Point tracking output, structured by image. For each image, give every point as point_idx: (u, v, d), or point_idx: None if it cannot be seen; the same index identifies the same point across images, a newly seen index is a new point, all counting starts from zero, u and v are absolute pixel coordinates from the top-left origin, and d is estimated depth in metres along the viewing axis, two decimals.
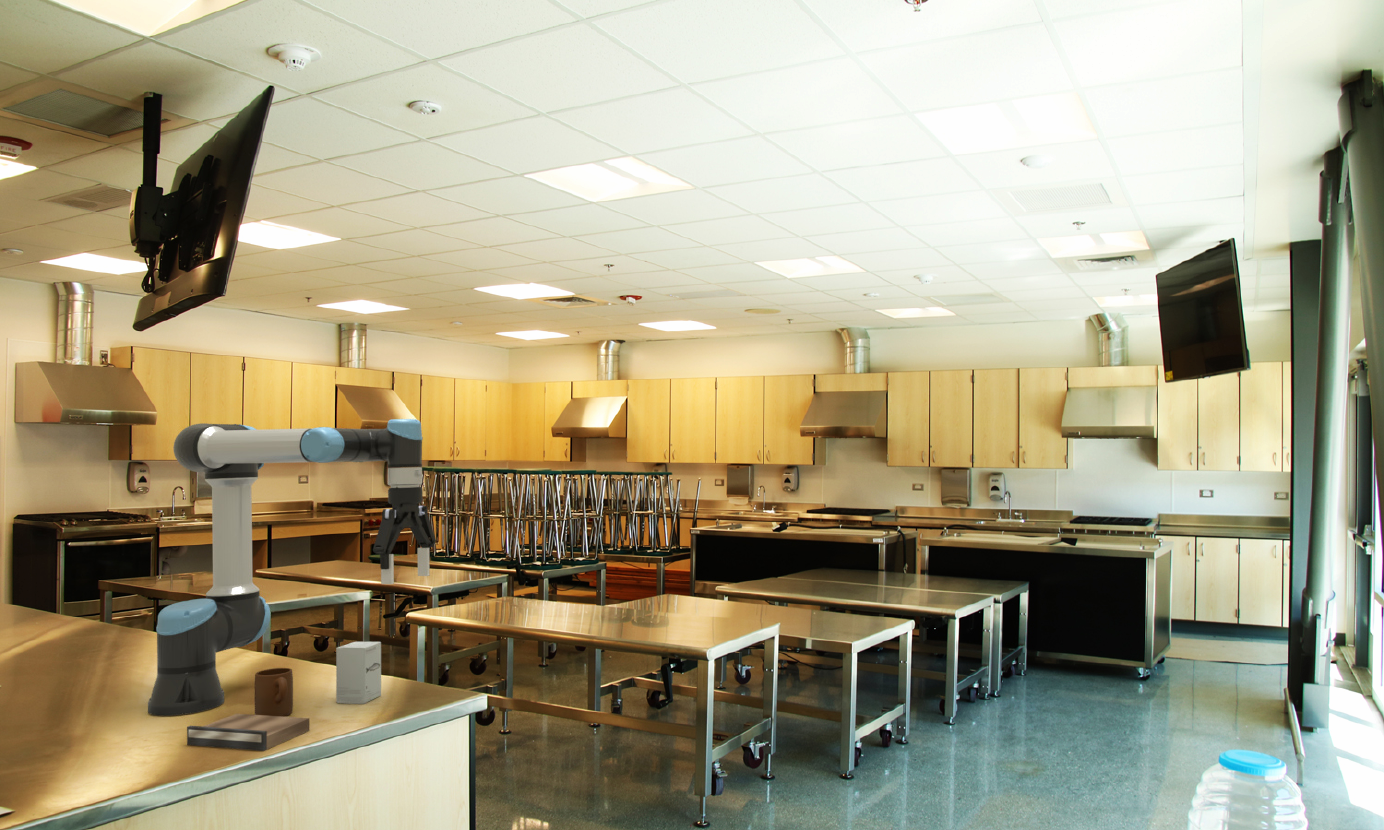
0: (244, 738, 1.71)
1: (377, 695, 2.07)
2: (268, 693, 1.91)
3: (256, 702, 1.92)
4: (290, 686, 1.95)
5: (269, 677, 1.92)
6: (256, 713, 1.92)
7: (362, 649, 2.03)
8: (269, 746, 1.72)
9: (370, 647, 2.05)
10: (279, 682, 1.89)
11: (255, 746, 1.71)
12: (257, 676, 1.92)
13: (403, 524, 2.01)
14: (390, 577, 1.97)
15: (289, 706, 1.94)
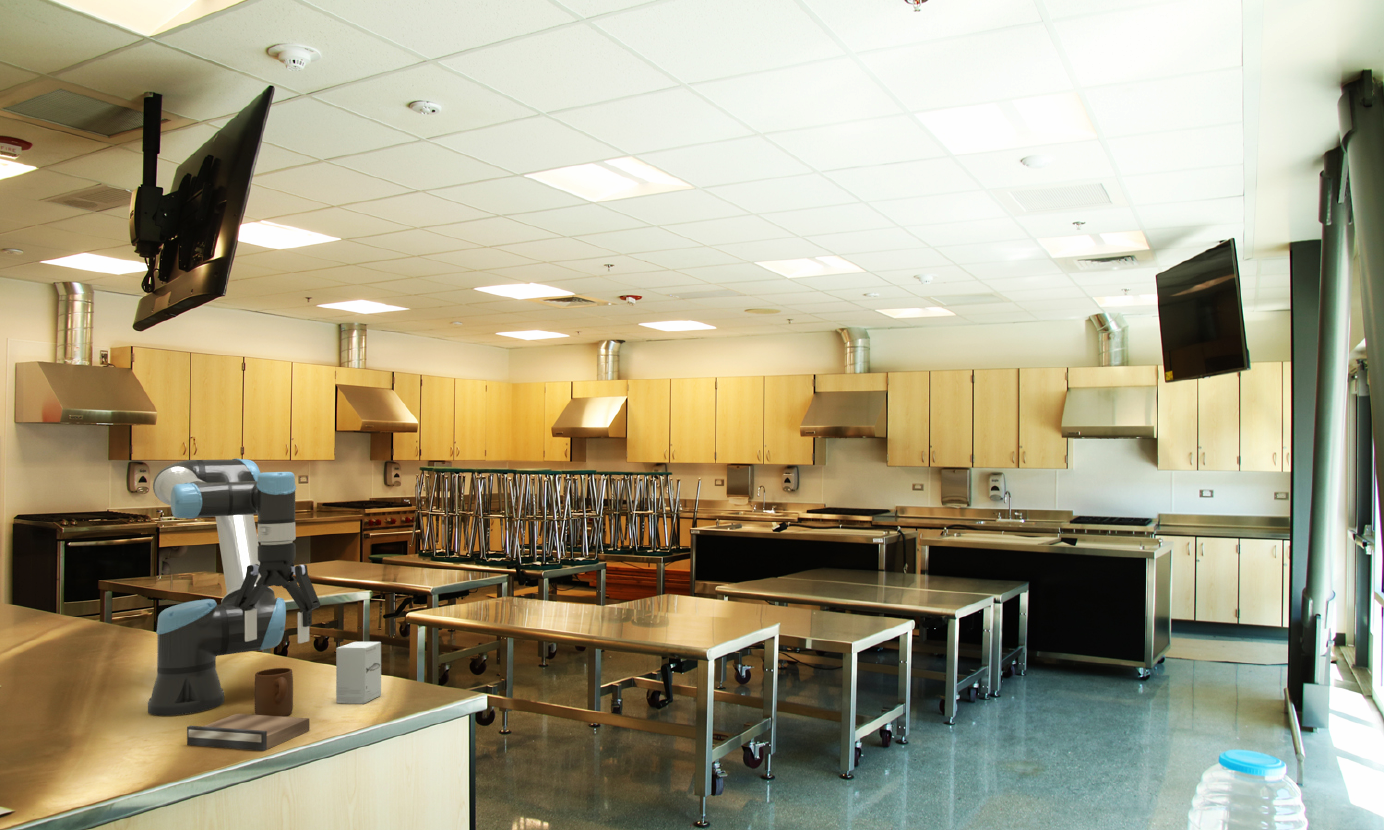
0: (244, 738, 1.71)
1: (377, 695, 2.07)
2: (268, 693, 1.91)
3: (256, 702, 1.92)
4: (290, 686, 1.95)
5: (269, 677, 1.92)
6: (256, 713, 1.92)
7: (362, 649, 2.03)
8: (269, 746, 1.72)
9: (370, 647, 2.05)
10: (279, 682, 1.89)
11: (255, 746, 1.71)
12: (257, 676, 1.92)
13: (258, 582, 1.94)
14: None
15: (289, 706, 1.94)
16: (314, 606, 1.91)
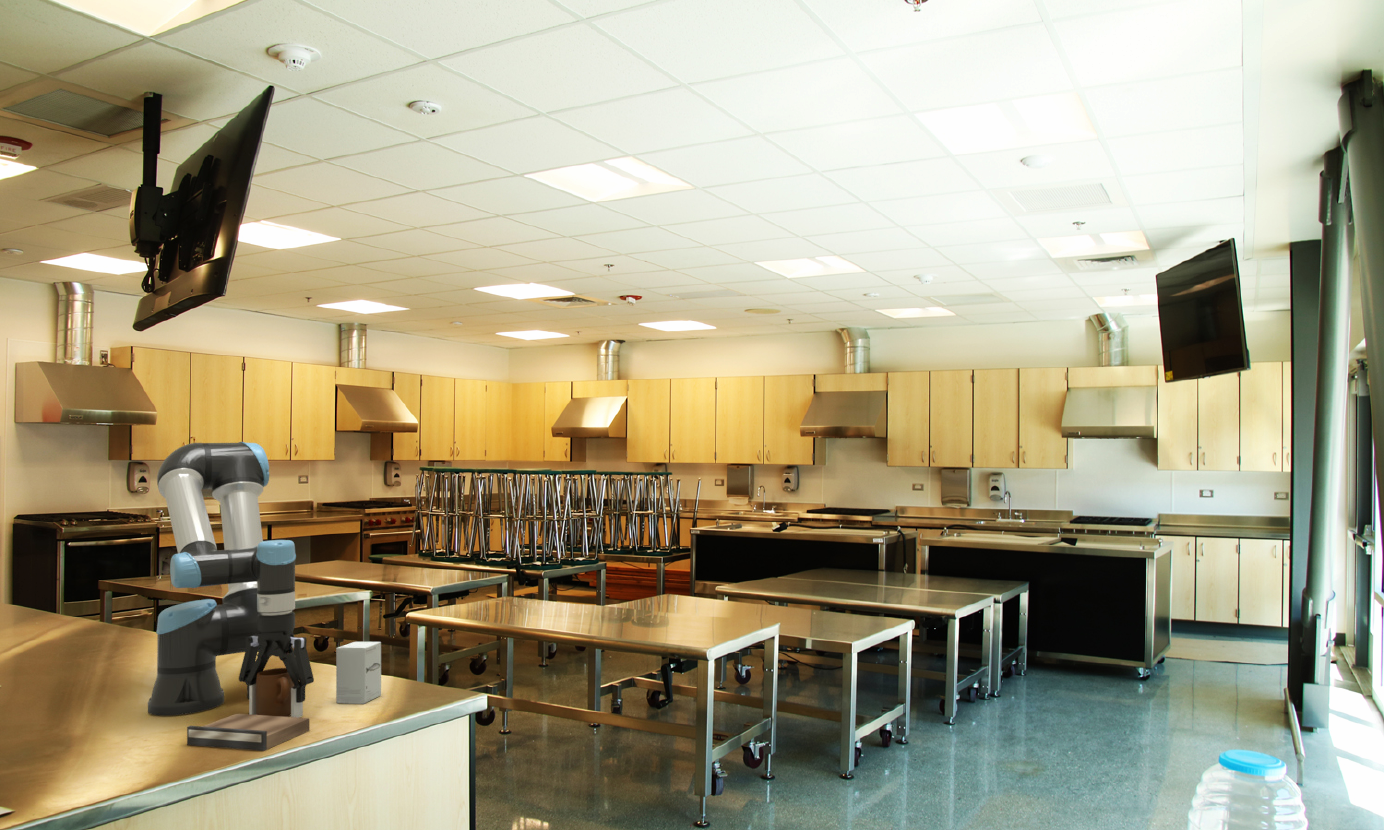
0: (244, 738, 1.71)
1: (377, 695, 2.07)
2: (270, 693, 1.91)
3: (258, 702, 1.92)
4: (292, 686, 1.95)
5: (271, 677, 1.91)
6: (258, 713, 1.92)
7: (362, 649, 2.03)
8: (269, 746, 1.72)
9: (370, 647, 2.05)
10: (281, 682, 1.89)
11: (255, 746, 1.71)
12: (259, 676, 1.92)
13: (259, 654, 1.93)
14: None
15: None
16: (308, 682, 1.91)
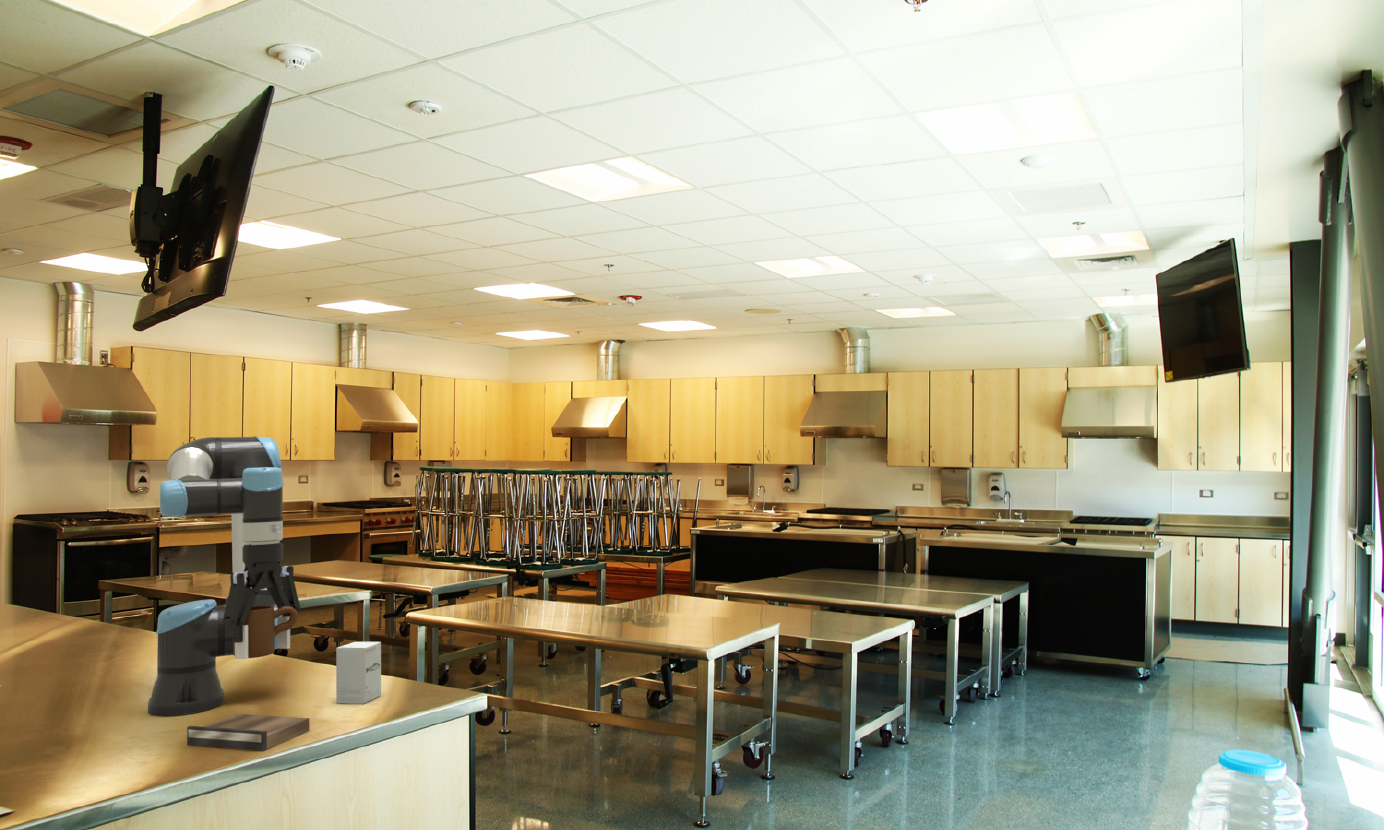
0: (244, 738, 1.71)
1: (377, 695, 2.07)
2: (273, 626, 1.82)
3: (260, 639, 1.79)
4: None
5: (272, 609, 1.82)
6: (260, 651, 1.78)
7: (362, 649, 2.03)
8: (269, 746, 1.72)
9: (370, 647, 2.05)
10: (292, 609, 1.85)
11: (255, 746, 1.71)
12: (261, 611, 1.79)
13: (257, 587, 1.79)
14: (244, 651, 1.76)
15: None
16: None
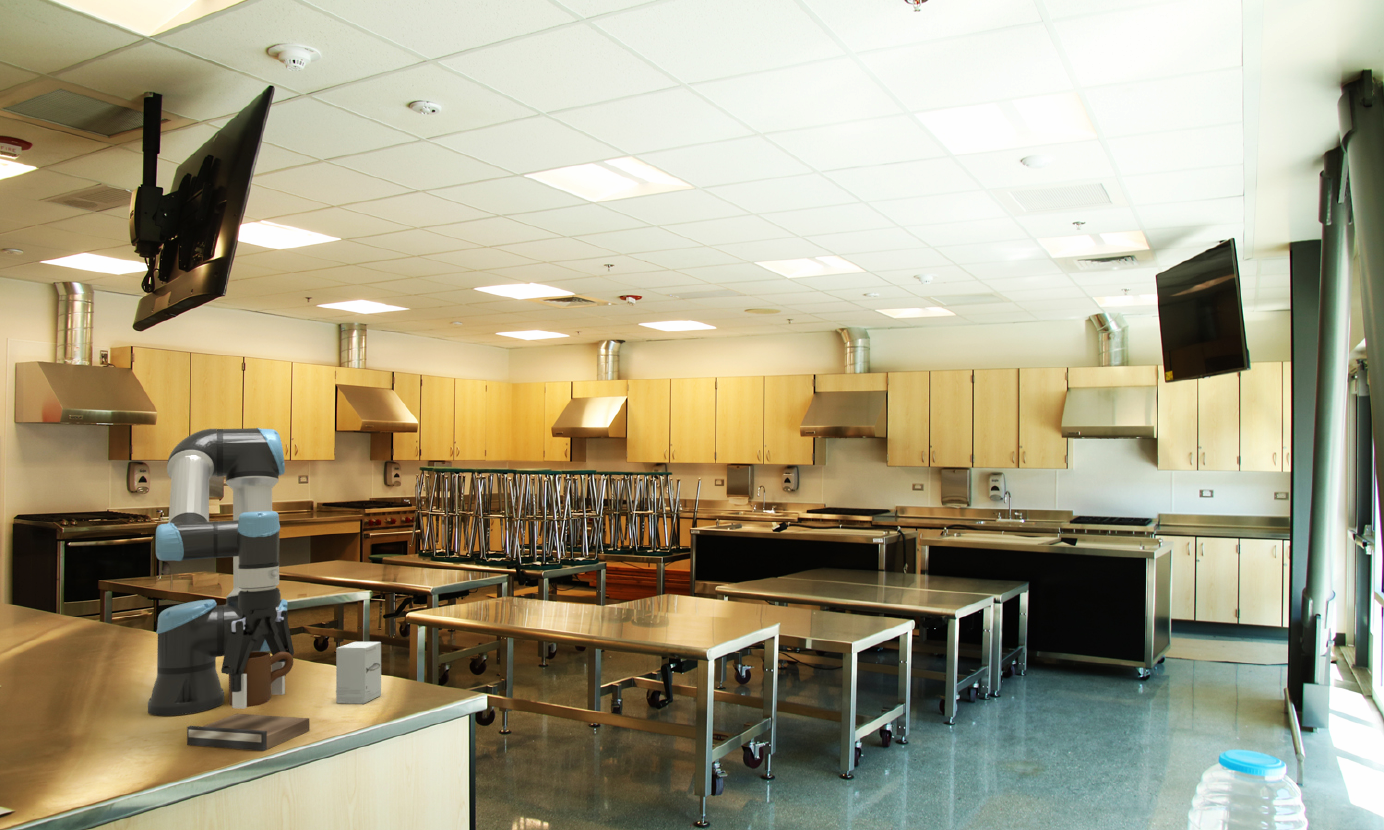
0: (244, 738, 1.71)
1: (377, 695, 2.07)
2: (270, 673, 1.79)
3: (258, 687, 1.76)
4: None
5: (269, 656, 1.79)
6: (258, 699, 1.76)
7: (362, 649, 2.03)
8: (269, 746, 1.72)
9: (370, 647, 2.05)
10: (288, 655, 1.83)
11: (255, 746, 1.71)
12: (259, 658, 1.76)
13: (255, 635, 1.76)
14: (242, 700, 1.73)
15: None
16: None
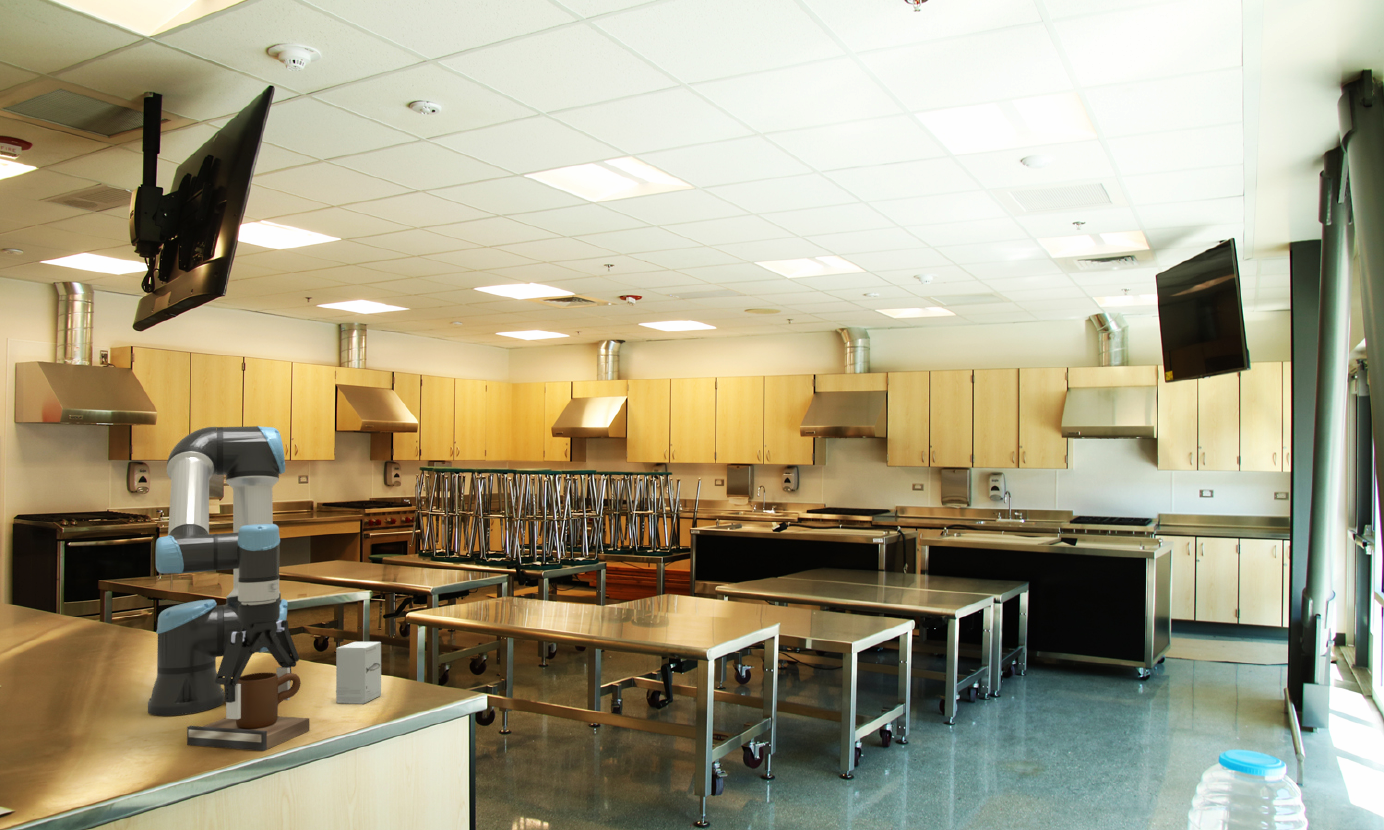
0: (244, 738, 1.71)
1: (377, 695, 2.07)
2: (276, 694, 1.80)
3: (265, 709, 1.77)
4: None
5: (276, 677, 1.80)
6: (264, 721, 1.77)
7: (362, 649, 2.03)
8: (269, 746, 1.72)
9: (370, 647, 2.05)
10: (295, 676, 1.83)
11: (255, 746, 1.71)
12: (266, 680, 1.77)
13: (254, 647, 1.76)
14: (236, 711, 1.72)
15: None
16: None
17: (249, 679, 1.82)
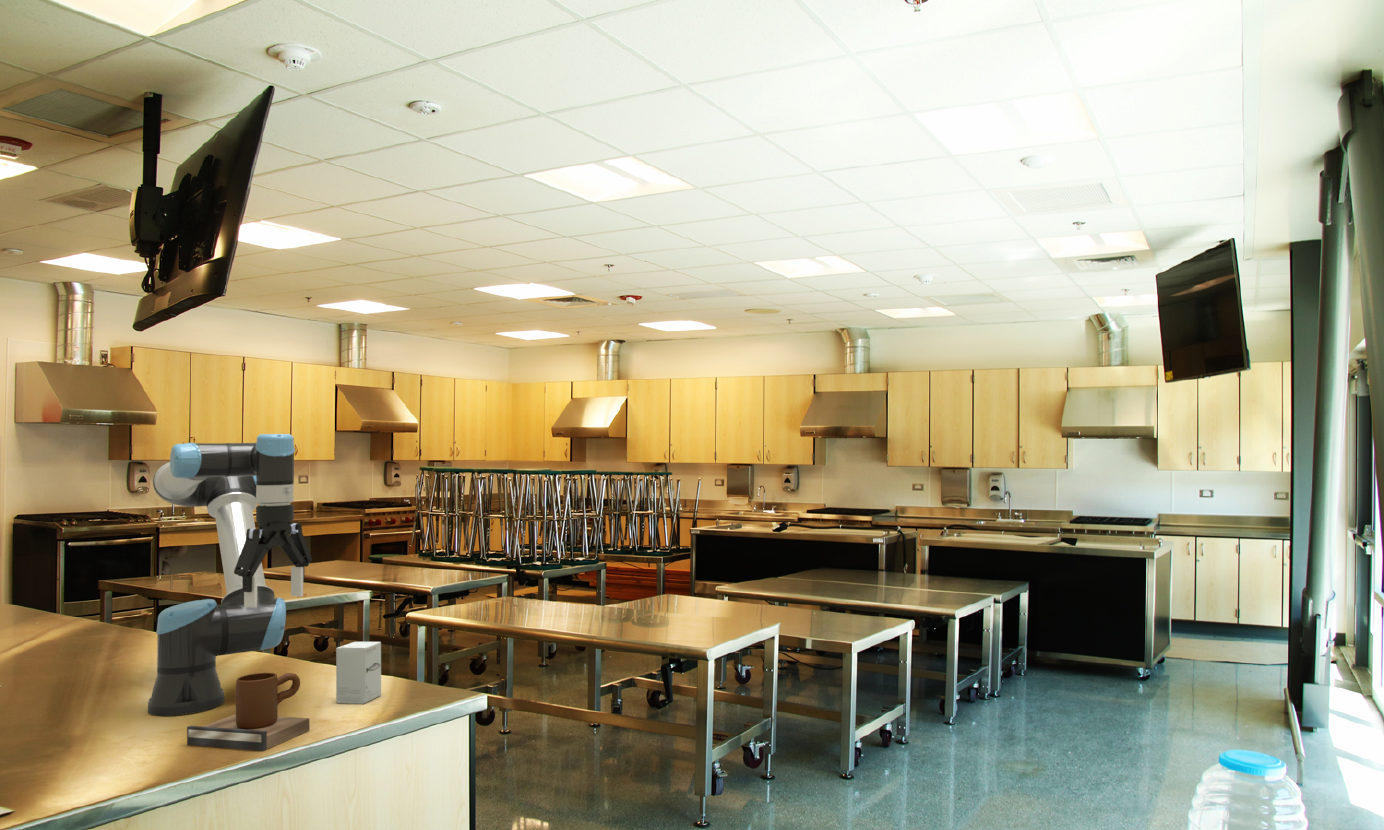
0: (244, 738, 1.71)
1: (377, 695, 2.07)
2: (276, 694, 1.80)
3: (264, 709, 1.77)
4: None
5: (276, 677, 1.80)
6: (264, 721, 1.77)
7: (362, 649, 2.03)
8: (269, 746, 1.72)
9: (370, 647, 2.05)
10: (295, 676, 1.83)
11: (255, 746, 1.71)
12: (265, 680, 1.77)
13: (270, 544, 1.92)
14: (253, 600, 1.88)
15: None
16: None
17: (249, 679, 1.82)
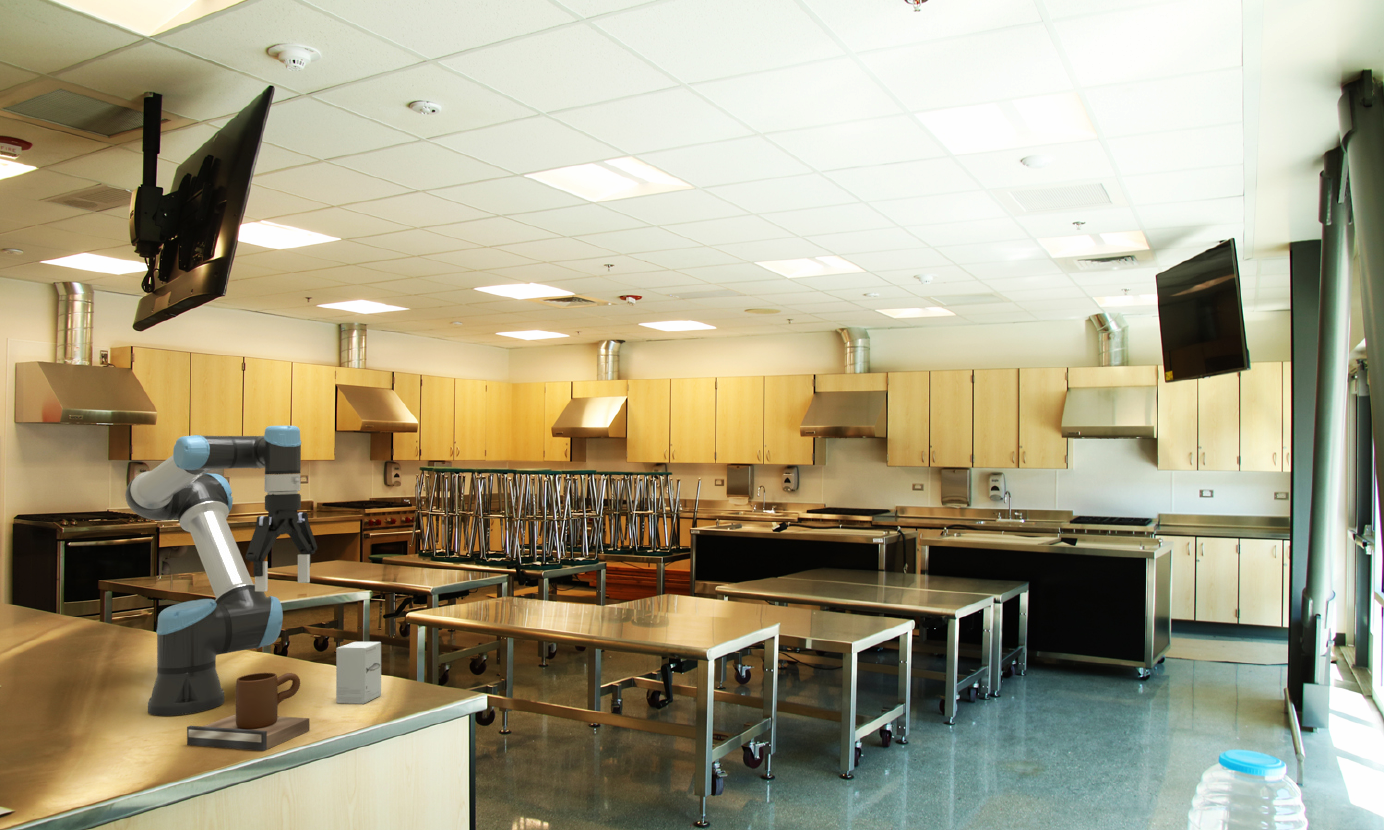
0: (244, 738, 1.71)
1: (377, 695, 2.07)
2: (276, 694, 1.80)
3: (264, 709, 1.77)
4: None
5: (275, 677, 1.80)
6: (264, 721, 1.77)
7: (362, 649, 2.03)
8: (269, 746, 1.72)
9: (370, 647, 2.05)
10: (295, 676, 1.83)
11: (255, 746, 1.71)
12: (265, 680, 1.77)
13: (279, 531, 2.00)
14: (264, 584, 1.96)
15: None
16: None
17: (249, 679, 1.82)
